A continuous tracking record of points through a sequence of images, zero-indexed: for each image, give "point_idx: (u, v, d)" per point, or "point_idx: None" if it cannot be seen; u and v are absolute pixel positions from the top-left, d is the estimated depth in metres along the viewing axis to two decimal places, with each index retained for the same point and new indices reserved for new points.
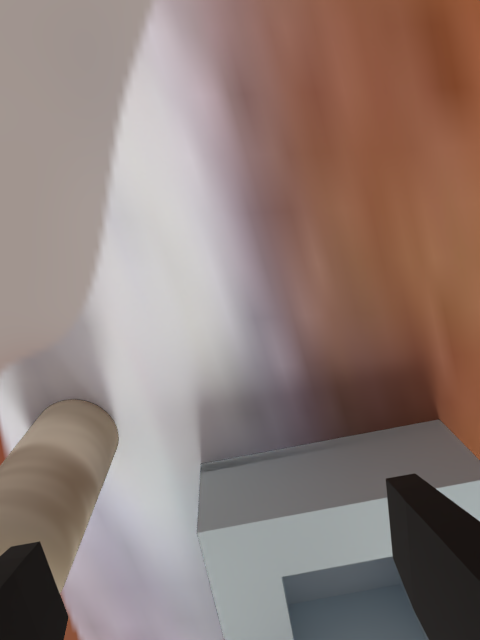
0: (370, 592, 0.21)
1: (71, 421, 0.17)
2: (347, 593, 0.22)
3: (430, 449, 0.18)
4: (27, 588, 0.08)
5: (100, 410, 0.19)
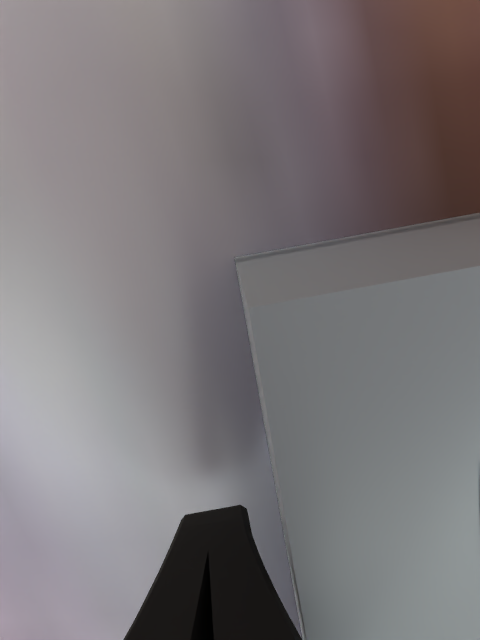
0: None
1: None
2: None
3: None
4: None
5: None
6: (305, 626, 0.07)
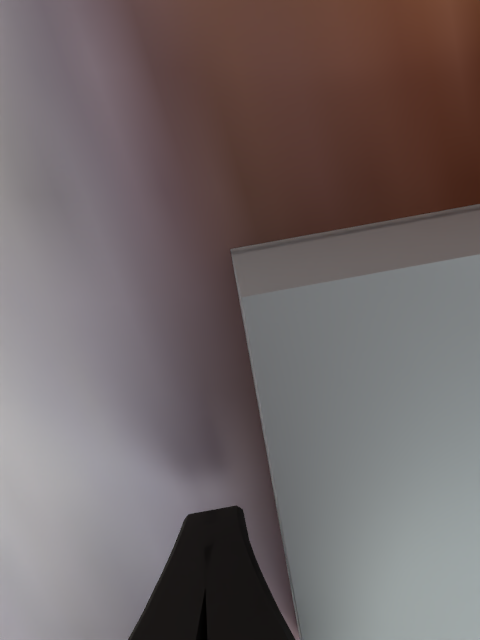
0: None
1: None
2: None
3: None
4: None
5: None
6: (301, 627, 0.06)
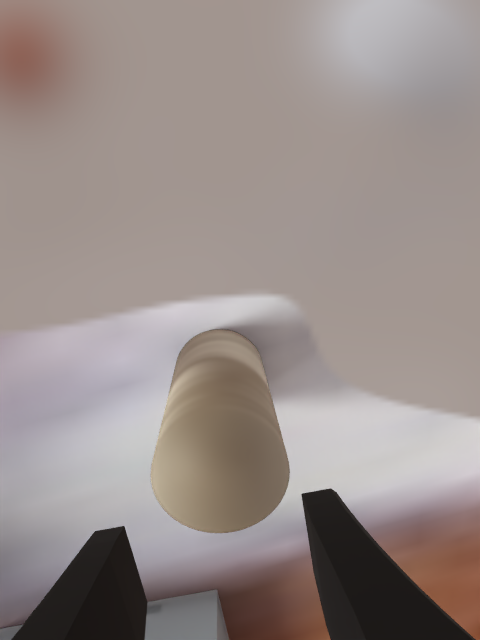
0: None
1: None
2: None
3: None
4: (119, 571, 0.08)
5: None
6: None
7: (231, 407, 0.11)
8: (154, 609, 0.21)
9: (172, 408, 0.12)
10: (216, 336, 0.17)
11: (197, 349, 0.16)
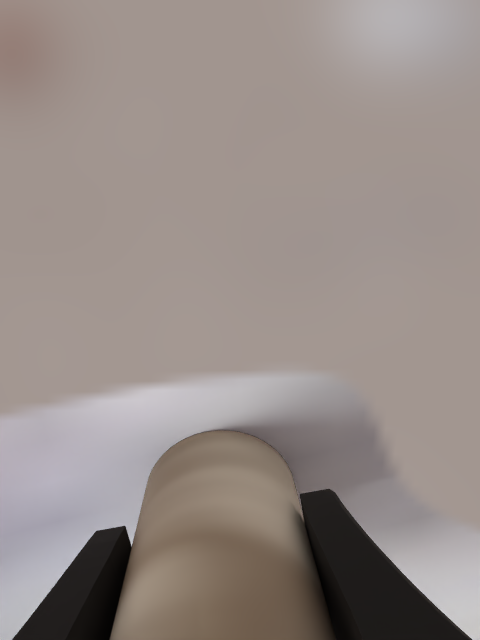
0: None
1: None
2: None
3: None
4: (120, 571, 0.08)
5: None
6: None
7: None
8: None
9: None
10: (216, 453, 0.09)
11: (179, 491, 0.08)
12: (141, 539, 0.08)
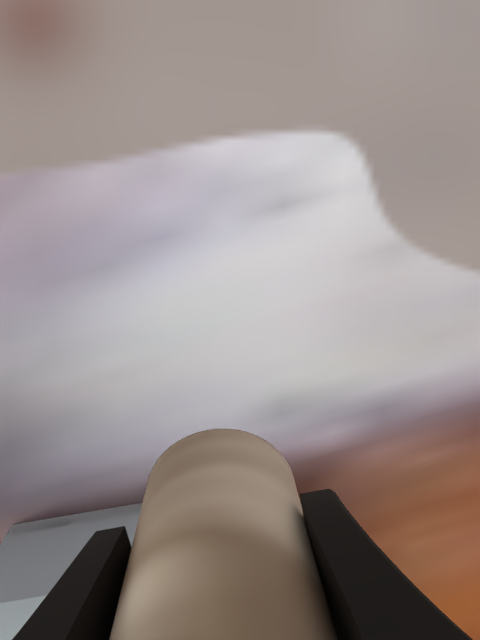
0: None
1: None
2: None
3: None
4: (119, 571, 0.08)
5: None
6: None
7: None
8: None
9: None
10: (217, 452, 0.09)
11: (180, 489, 0.08)
12: (142, 536, 0.08)
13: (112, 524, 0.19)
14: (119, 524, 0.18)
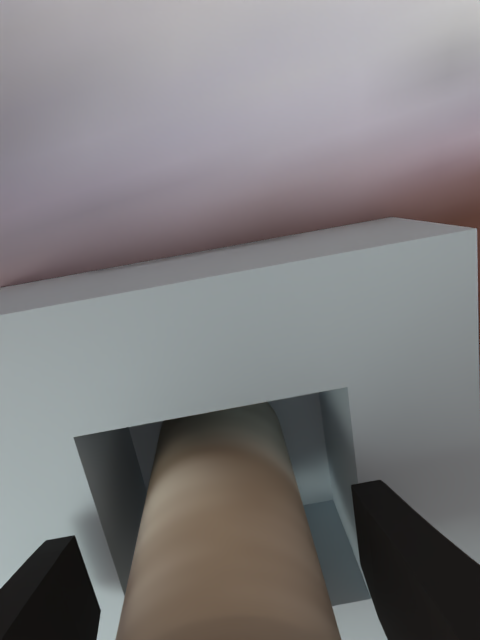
0: None
1: None
2: (138, 460, 0.13)
3: None
4: (65, 581, 0.08)
5: None
6: (205, 278, 0.08)
7: (256, 593, 0.06)
8: (284, 237, 0.12)
9: (149, 559, 0.07)
10: None
11: (193, 423, 0.11)
12: (163, 456, 0.10)
13: (164, 263, 0.11)
14: (176, 261, 0.11)
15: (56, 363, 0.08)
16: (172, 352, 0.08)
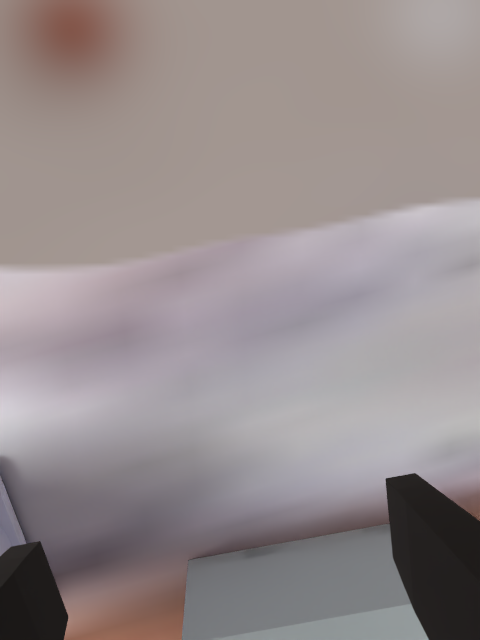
0: None
1: None
2: None
3: None
4: (27, 588, 0.08)
5: None
6: (333, 617, 0.17)
7: None
8: (356, 535, 0.20)
9: None
10: None
11: None
12: None
13: (291, 558, 0.20)
14: (298, 558, 0.20)
15: None
16: None
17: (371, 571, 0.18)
